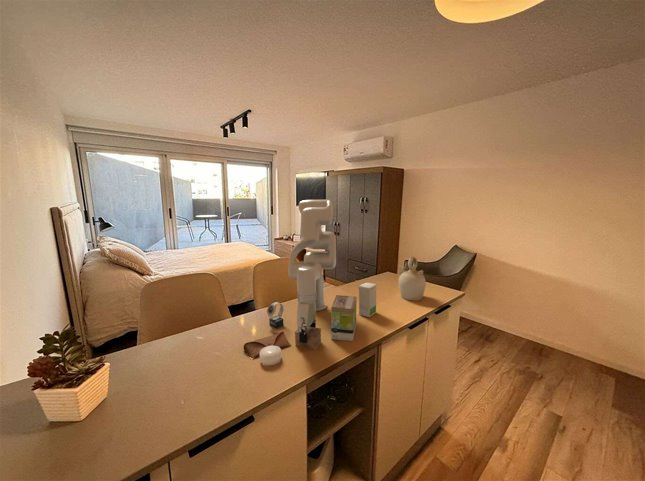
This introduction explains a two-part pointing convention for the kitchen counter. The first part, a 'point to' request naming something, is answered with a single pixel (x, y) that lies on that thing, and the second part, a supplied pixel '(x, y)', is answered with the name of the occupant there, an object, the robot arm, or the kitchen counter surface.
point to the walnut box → (309, 338)
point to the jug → (412, 282)
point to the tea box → (343, 318)
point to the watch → (275, 320)
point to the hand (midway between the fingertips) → (308, 336)
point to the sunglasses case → (265, 344)
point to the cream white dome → (270, 355)
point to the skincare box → (367, 299)
